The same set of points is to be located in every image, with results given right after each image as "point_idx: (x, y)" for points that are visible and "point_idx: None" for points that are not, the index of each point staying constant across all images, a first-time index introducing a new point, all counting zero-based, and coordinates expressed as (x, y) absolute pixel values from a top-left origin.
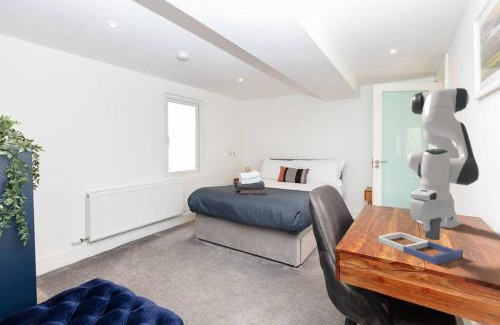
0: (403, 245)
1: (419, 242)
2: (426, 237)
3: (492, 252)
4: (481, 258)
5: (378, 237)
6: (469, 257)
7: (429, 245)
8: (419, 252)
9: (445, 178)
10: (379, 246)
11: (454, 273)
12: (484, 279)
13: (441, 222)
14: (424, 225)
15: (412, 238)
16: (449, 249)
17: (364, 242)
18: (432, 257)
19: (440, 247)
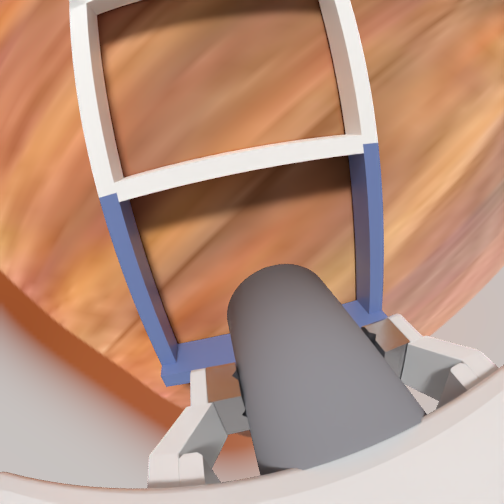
0: (113, 178)
1: (291, 145)
2: (228, 311)
3: (496, 267)
4: (425, 311)
5: (70, 9)
6: (400, 300)
7: (353, 160)
8: (135, 301)
9: None
10: (37, 90)
11: (185, 404)
12: (248, 431)
13: (424, 393)
14: (187, 416)
15: (339, 43)
16: (368, 276)
17: (8, 33)
18: (160, 361)
19: (364, 228)
